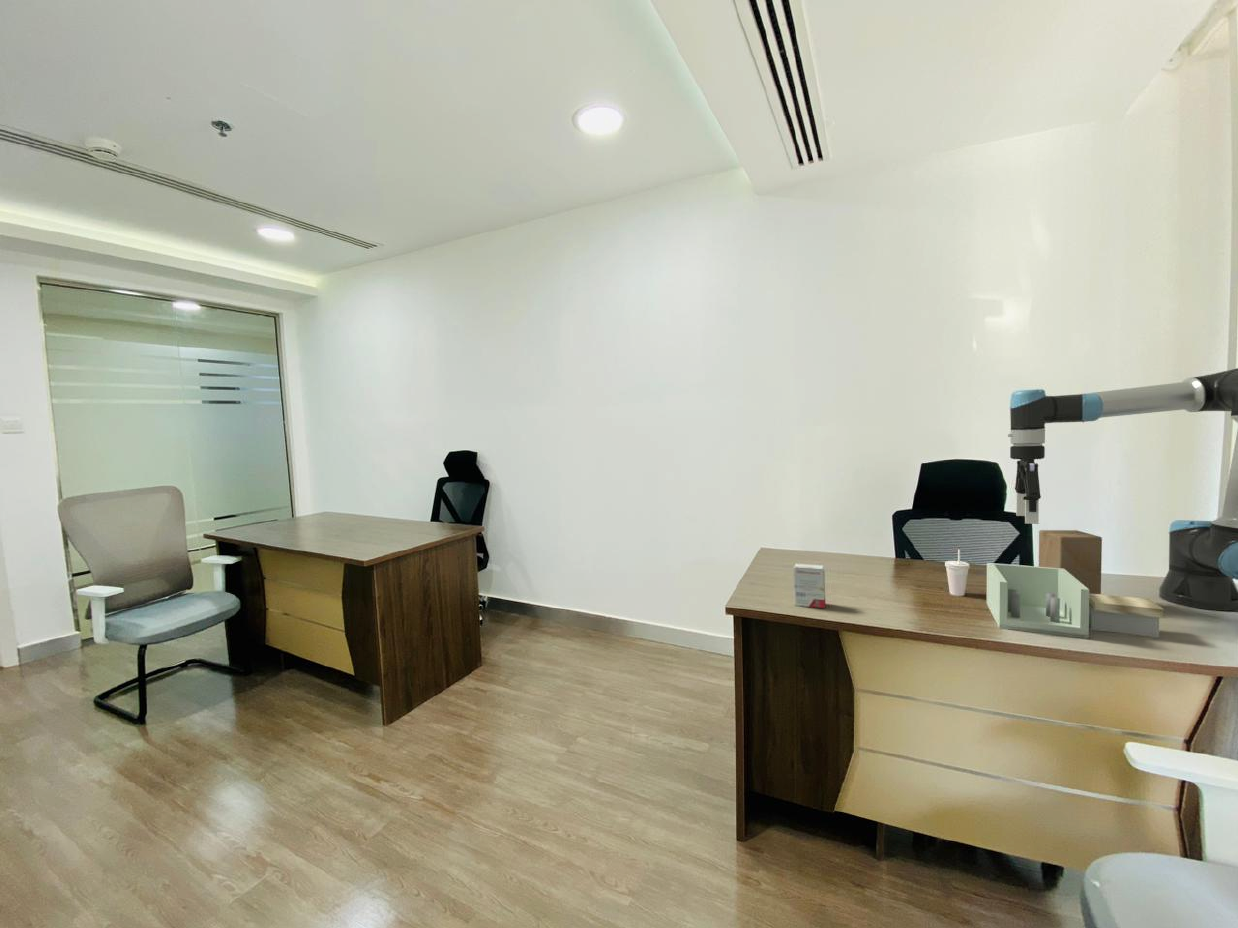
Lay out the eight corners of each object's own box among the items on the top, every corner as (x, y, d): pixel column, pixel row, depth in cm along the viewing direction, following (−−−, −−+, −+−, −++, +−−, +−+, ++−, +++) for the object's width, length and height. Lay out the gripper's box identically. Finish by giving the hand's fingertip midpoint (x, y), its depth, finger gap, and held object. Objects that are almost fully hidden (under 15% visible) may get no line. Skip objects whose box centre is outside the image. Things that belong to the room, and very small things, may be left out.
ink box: (825, 603, 148) (825, 564, 148) (825, 608, 144) (824, 569, 143) (795, 600, 152) (794, 562, 151) (793, 605, 147) (793, 566, 147)
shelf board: (1148, 606, 122) (1148, 598, 122) (1163, 617, 115) (1163, 609, 115) (1083, 600, 128) (1083, 592, 128) (1094, 610, 121) (1094, 602, 121)
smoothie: (962, 598, 148) (962, 552, 147) (940, 593, 154) (940, 548, 153) (974, 594, 151) (974, 549, 150) (952, 589, 157) (952, 545, 156)
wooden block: (1101, 608, 137) (1103, 536, 136) (1059, 607, 139) (1060, 536, 138) (1076, 596, 147) (1077, 529, 146) (1037, 595, 149) (1038, 529, 148)
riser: (1151, 631, 121) (1151, 609, 121) (1158, 637, 117) (1159, 614, 117) (1085, 623, 127) (1086, 602, 126) (1091, 629, 123) (1091, 607, 123)
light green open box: (1063, 611, 135) (1063, 568, 135) (1088, 639, 118) (1089, 589, 117) (986, 603, 143) (986, 562, 143) (999, 627, 126) (999, 581, 125)
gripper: (1003, 443, 152) (1003, 512, 153) (1018, 446, 131) (1018, 526, 132) (1034, 443, 148) (1034, 513, 150) (1055, 446, 127) (1054, 528, 128)
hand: (1026, 519), depth 141 cm, fingers open, 13 cm apart
